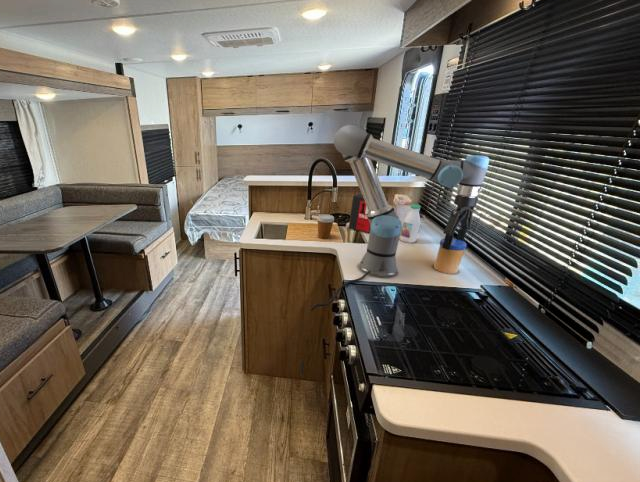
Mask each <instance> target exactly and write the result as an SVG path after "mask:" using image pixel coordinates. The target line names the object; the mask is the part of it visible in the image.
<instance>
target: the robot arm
mask: <svg viewBox="0 0 640 482" xmlns="http://www.w3.org/2000/svg"><path fill="white" fill-rule="evenodd" d="M333 145H334V147H335V149H336V151H337V152H339V153H340V154H341V155H342V158H343V160H344V162H346V163H348V164H349V166H350V168H351V170H352V173H353V175H354V178H355V180H356V183H357V185H358V189H359V190H360V194H362V196H363V198H364V201H365V203H366V206H367V208H368V211H369V212H368V214H367V218H368V220H369V223H370V225H371V229H370V234H369V236H368V240H367V247H366V251H365V253H364V255H363V257H362V258H361V260H360V262H359V269H360V270H361V271H362V272H363V273H364V274H363V275H362V276H361V277H358V278H355V279H352V280H349V281H346V282H345V283H343V284H342V285H341V286H339V287H338V288H337V290H336V291H335V293H334V295H333V296H332V297H331V299H329V300H328V301H327V302H325V303H323V302H322V303H316V304H314V305H313V306H312V307H311V308H310V309H309V311H311V312H313V311H314V310H315V309H316V308H317V307H326V306H328V305H330V304H331V303H332V302H333V301H334V300H335V299H336V297H337V296H338V295H339V293H340V292H341V290H342V289H343V288H344V287H346V286H348V285H349V284H352V283H355V282H359V281H361V280H364V279H365V278H366V277H367V276H368V275H370V276H372V277H378V278H391V277H394V276H396V275H397V272H398V266H397V258H396V255H397V251H398V245H399V241H400V237H401V233H400V232H401V230H402V222H401V221H400V220H399V217H398V216H397V214H396V213H395V210H394V207H393V204H390V203H388V202H387V200H386V198H387V197H386V195H385V192H384V189H383V187H382V184H381V181H380V178H379V176H378V174H377V172H376V169H375V166H374V163H373V161H374V162H377V163H380V164H383V165H386V166H389V167H392V168H395V169H398V170H400V171H404V172H407V173H409V174H413V175H415V176H418V177H421V178H425V179H427V180H430V181H433V182H434V183H438V184H440V185H441V186H443V187H448V188H450V187H451V188H452V187H454V186H456V185H458V186H457V189H456V195H455V197H454V200H453V204H454V205H455V206H457V207H456V209H452V210H451V212H450V216H449V219H448V221H447V223H446V225H445V228H444V230H443V234H444V235H445V236H444V238H445V239H444V243H443V246H442V248H444V249H447V250H450V247H451V243H452V240H453V239H454V236H455V235H454V234H455V231H456V230H457V227H458V226H459V224H460V228H459V229H458V232H457V235H456V238H455V239H458V240H461V241H464V242H465V238H466V235H467V231H470V230H471V226H472V221H473V213H474V210H475V207H476V206H477V204H478V200H479V197H478V196H480V193H481V192H482V190H483V189H482V187H483V183H484V180H485V177H486V174H487V171H488V168H489V164H490V158H489V156H486V155H477V154H476V155H472V154H471V155H467V156H466V158H465V159H464V160H451V159H439V158H435V157H432V156H429V155H426V154H423V153H420V152H418V151H414V150H410V149H407V148H405V147H401V146H398V145H395V144H393V143H389V142H386V141H383V140H380V139H377V138H374V137H373V134H371V133H368V132H367V131H366V130H365V128H364V127H363V126H362V125H360V124H357V123H350V124H347V125H344V126H342V127H340V128H339V129H338V130H337V131H336V133H335V134H334V138H333ZM304 368H305V361H304V359H302V360H301V366H300V374H301V375H303V374H304Z"/></svg>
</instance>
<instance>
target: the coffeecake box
mask: <svg viewBox="0 0 640 482" xmlns="http://www.w3.org/2000/svg"><path fill="white" fill-rule="evenodd" d="M412 203H413V202H412V199H411V198H410V197H409V195H408V194H400V193H395V194H394V197H393V203H392V206H393V207H394V210H395V213H396V214H397V216H398V217H399V220H400V221H401V222H402V228H403V224H404V220H405V218H406V216H407V215H408V213H409V212H410V208H411V205H412ZM401 233H402V230H401V232H400V234H401Z"/></svg>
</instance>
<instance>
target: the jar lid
mask: <svg viewBox="0 0 640 482" xmlns="http://www.w3.org/2000/svg"><path fill="white" fill-rule="evenodd" d="M444 239H445V237H444V238H441V239H440V241H439V246H440V245H441V246H443V243H444ZM467 246H468V243H466V242H465V240H464V241H461V240H458V239H456V238H453V240H452V243H451V247H450V249H452V250H464V251H465V250H466V248H467Z"/></svg>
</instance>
